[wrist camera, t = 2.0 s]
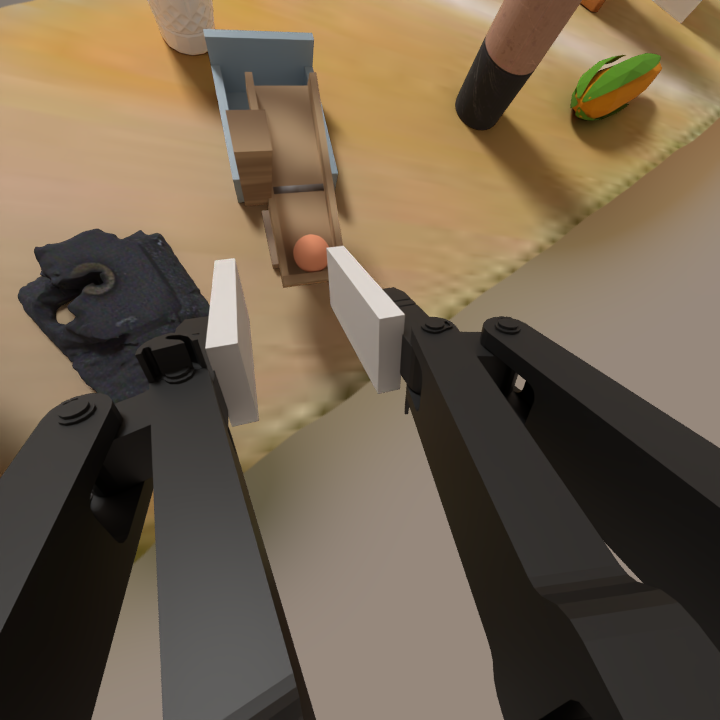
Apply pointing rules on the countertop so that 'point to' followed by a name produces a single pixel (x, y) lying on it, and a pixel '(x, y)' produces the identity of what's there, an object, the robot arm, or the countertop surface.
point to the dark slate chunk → (111, 303)
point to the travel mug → (510, 57)
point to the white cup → (184, 23)
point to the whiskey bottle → (593, 4)
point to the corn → (613, 85)
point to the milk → (678, 7)
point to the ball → (311, 253)
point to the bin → (257, 73)
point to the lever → (287, 168)
